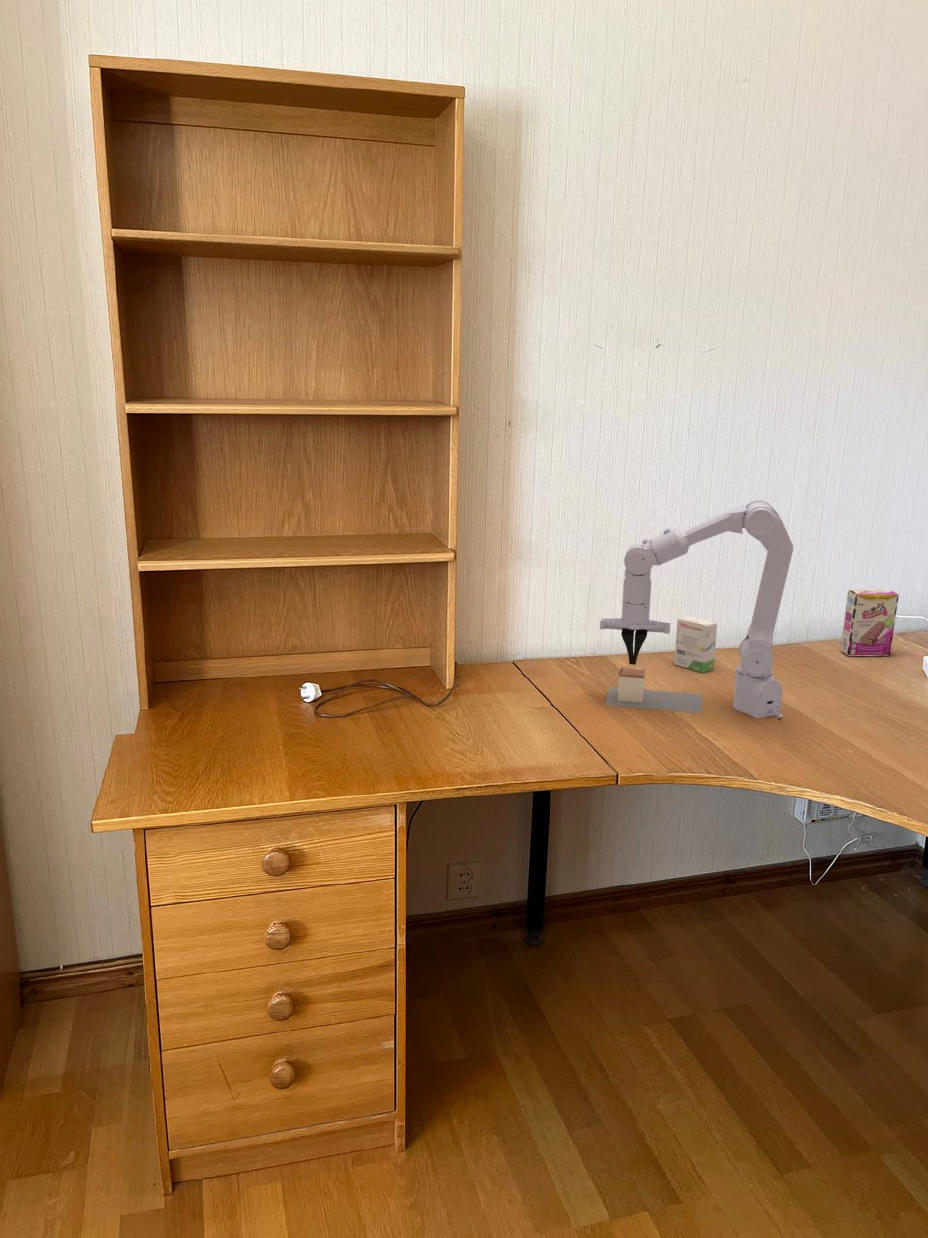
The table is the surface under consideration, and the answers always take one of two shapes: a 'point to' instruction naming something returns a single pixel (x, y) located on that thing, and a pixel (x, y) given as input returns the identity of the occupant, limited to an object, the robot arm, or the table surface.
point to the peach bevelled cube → (631, 684)
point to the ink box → (695, 644)
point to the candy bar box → (869, 622)
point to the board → (660, 701)
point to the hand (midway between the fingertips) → (632, 663)
